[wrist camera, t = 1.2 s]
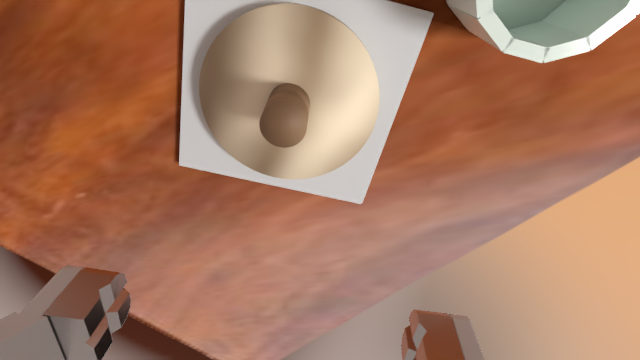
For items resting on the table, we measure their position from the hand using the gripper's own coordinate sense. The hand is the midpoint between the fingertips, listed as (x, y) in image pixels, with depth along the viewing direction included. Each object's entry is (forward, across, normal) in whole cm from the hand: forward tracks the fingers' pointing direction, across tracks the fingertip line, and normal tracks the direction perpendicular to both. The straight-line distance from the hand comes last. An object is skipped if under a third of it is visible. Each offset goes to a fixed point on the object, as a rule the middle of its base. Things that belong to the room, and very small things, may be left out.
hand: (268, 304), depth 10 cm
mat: (+20, +2, +1) cm, 20 cm away
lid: (+19, +2, +1) cm, 19 cm away
